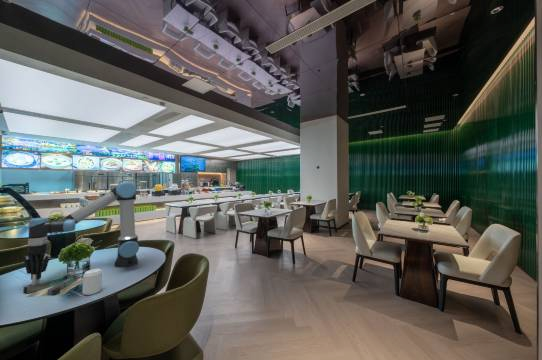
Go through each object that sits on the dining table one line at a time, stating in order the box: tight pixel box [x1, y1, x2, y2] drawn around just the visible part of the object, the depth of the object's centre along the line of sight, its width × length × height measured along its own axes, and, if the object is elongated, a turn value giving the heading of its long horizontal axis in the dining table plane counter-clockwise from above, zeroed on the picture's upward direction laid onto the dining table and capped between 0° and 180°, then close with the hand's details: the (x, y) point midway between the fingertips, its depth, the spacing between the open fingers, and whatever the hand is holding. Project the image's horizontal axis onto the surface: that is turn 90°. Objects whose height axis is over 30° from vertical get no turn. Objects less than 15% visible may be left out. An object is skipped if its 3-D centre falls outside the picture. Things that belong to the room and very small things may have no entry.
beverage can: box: [82, 268, 103, 296], centre depth 116 cm, size 8×8×12 cm
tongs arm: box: [22, 272, 77, 294], centre depth 121 cm, size 6×21×4 cm, turn 155°
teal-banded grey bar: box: [46, 275, 78, 297], centre depth 120 cm, size 7×20×3 cm, turn 10°
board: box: [25, 277, 83, 298], centre depth 120 cm, size 17×21×1 cm
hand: (35, 284), depth 119 cm, fingers closed
